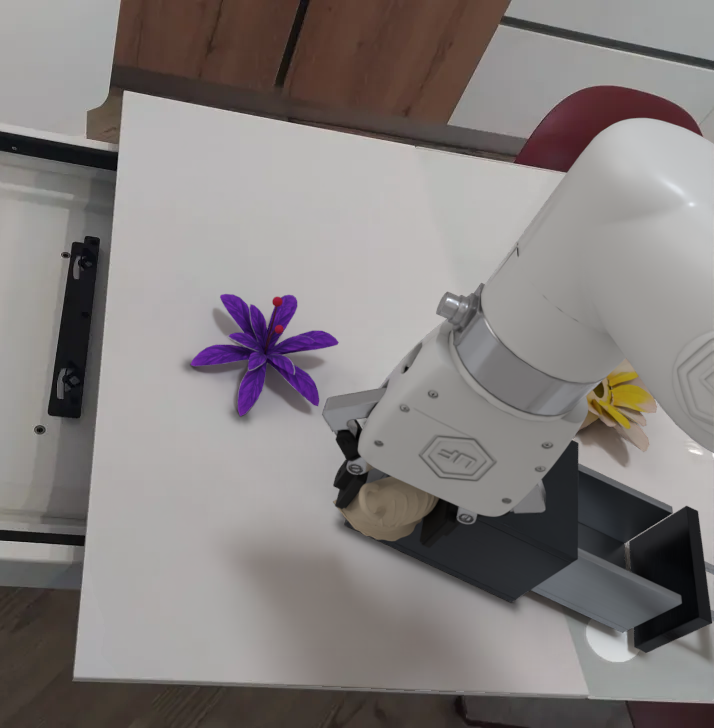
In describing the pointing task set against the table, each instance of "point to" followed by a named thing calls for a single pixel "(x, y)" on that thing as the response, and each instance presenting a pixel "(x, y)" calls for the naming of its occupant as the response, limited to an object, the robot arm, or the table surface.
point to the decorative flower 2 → (622, 404)
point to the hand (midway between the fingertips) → (385, 509)
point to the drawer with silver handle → (634, 564)
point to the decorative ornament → (388, 508)
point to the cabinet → (508, 538)
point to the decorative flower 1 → (265, 348)
